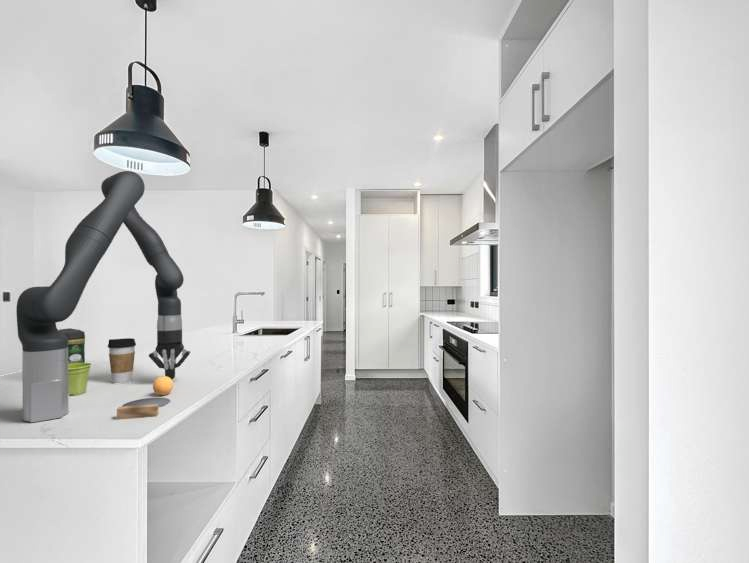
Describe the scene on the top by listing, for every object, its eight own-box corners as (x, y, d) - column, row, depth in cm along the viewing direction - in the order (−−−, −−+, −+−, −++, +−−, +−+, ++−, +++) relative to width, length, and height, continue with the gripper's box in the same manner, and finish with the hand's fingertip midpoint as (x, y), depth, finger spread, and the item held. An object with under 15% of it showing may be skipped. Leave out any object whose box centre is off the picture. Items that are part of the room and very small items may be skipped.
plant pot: (69, 398, 122) (69, 369, 122) (47, 396, 125) (47, 367, 126) (99, 391, 131) (99, 363, 131) (78, 388, 134) (78, 362, 134)
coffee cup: (101, 383, 141) (101, 339, 141) (123, 378, 149) (123, 336, 149) (120, 385, 138) (120, 340, 138) (141, 379, 146) (141, 337, 146)
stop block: (158, 413, 107) (158, 403, 107) (156, 416, 105) (156, 406, 105) (119, 416, 105) (119, 406, 105) (116, 419, 103) (116, 409, 103)
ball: (174, 390, 124) (176, 373, 127) (154, 389, 121) (156, 372, 124) (169, 398, 127) (171, 382, 131) (149, 397, 124) (151, 380, 128)
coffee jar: (51, 382, 143) (50, 328, 144) (77, 378, 150) (77, 326, 150) (61, 386, 138) (61, 330, 138) (88, 381, 144) (88, 328, 144)
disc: (175, 404, 115) (175, 404, 115) (125, 413, 108) (125, 412, 108) (164, 395, 125) (164, 395, 125) (118, 403, 117) (118, 402, 117)
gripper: (193, 326, 144) (193, 376, 144) (151, 328, 141) (151, 379, 141) (188, 328, 137) (189, 381, 137) (144, 330, 133) (145, 384, 133)
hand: (170, 380), depth 139 cm, fingers closed
